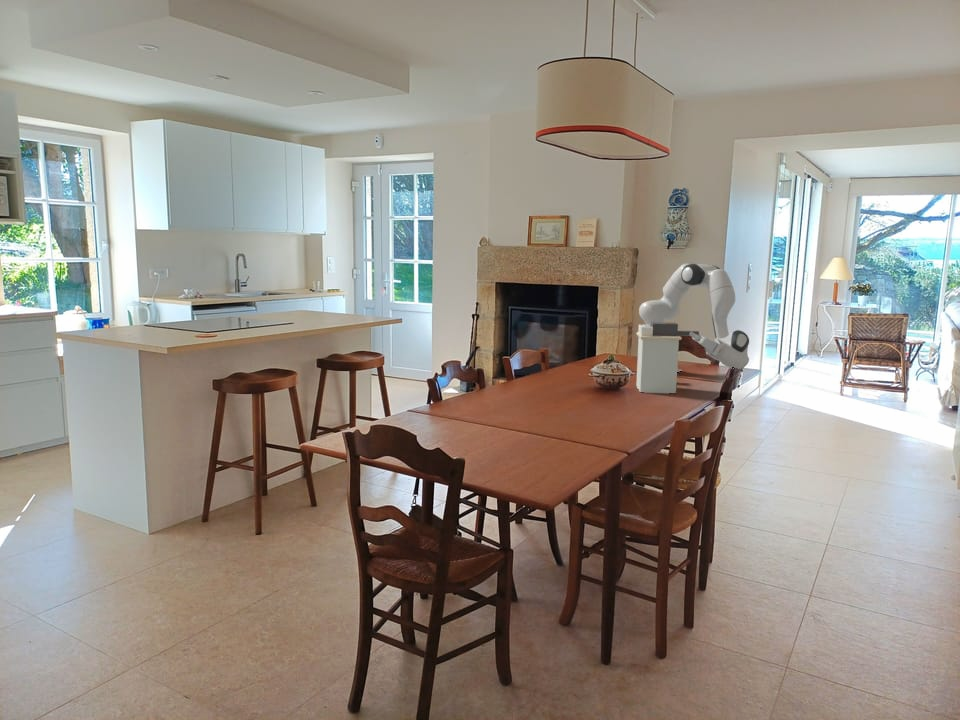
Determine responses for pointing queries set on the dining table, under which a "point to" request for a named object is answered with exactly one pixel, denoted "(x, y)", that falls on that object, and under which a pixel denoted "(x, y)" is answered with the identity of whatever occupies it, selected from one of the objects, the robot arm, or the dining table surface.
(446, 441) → the dining table surface
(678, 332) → the dark grey stepped bar
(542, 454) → the dining table surface
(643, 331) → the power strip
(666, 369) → the cabinet
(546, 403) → the dining table surface
